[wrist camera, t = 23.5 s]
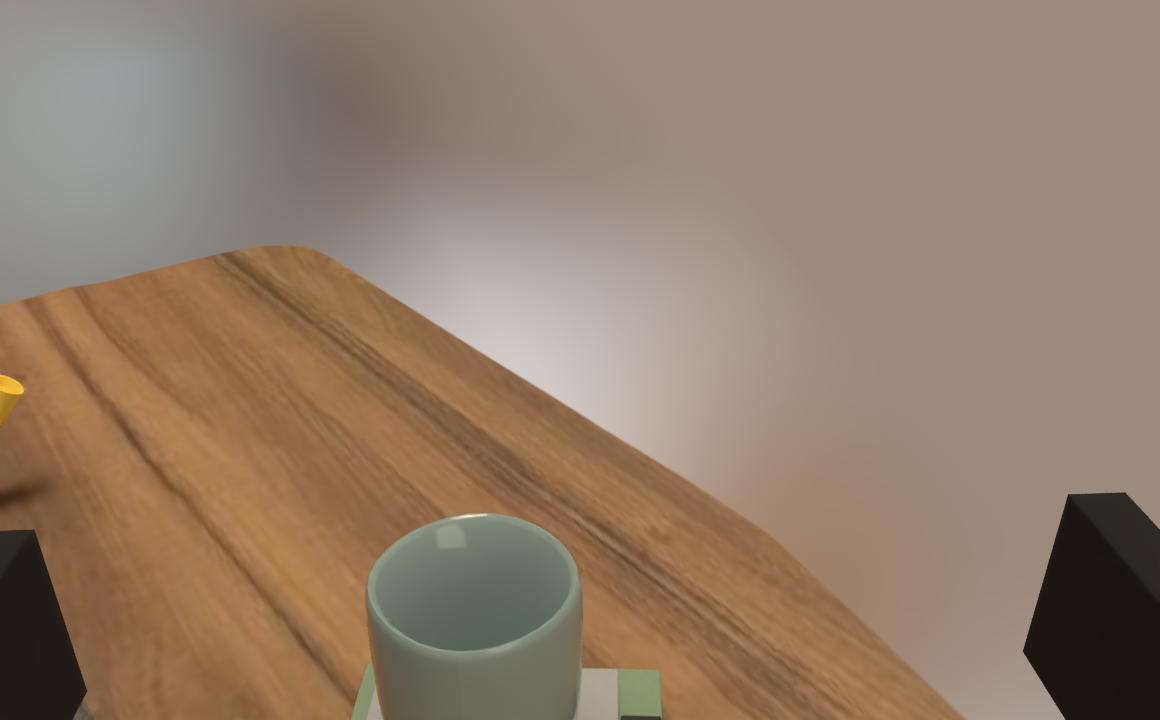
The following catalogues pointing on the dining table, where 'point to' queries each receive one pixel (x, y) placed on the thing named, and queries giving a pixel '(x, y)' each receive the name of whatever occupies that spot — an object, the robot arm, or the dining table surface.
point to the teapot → (8, 396)
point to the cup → (476, 623)
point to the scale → (607, 702)
